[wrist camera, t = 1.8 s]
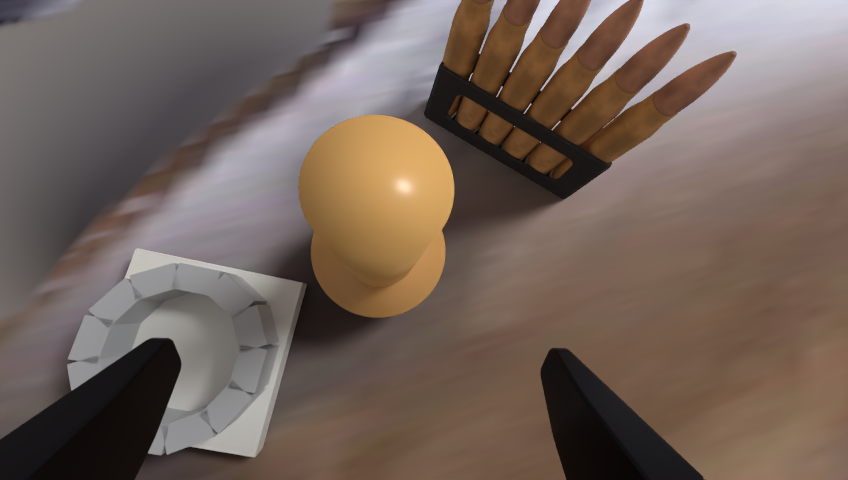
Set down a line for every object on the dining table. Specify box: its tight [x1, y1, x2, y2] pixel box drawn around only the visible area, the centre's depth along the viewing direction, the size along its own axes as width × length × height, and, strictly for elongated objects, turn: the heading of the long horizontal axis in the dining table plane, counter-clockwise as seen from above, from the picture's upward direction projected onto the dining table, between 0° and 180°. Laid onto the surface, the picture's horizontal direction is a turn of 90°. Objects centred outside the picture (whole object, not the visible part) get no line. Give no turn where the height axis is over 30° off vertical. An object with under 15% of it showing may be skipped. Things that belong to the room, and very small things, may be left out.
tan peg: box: [299, 115, 454, 318], centre depth 15 cm, size 6×6×13 cm
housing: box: [67, 248, 307, 457], centre depth 17 cm, size 9×9×3 cm
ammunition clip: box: [424, 0, 737, 199], centre depth 18 cm, size 11×2×12 cm, turn 60°
